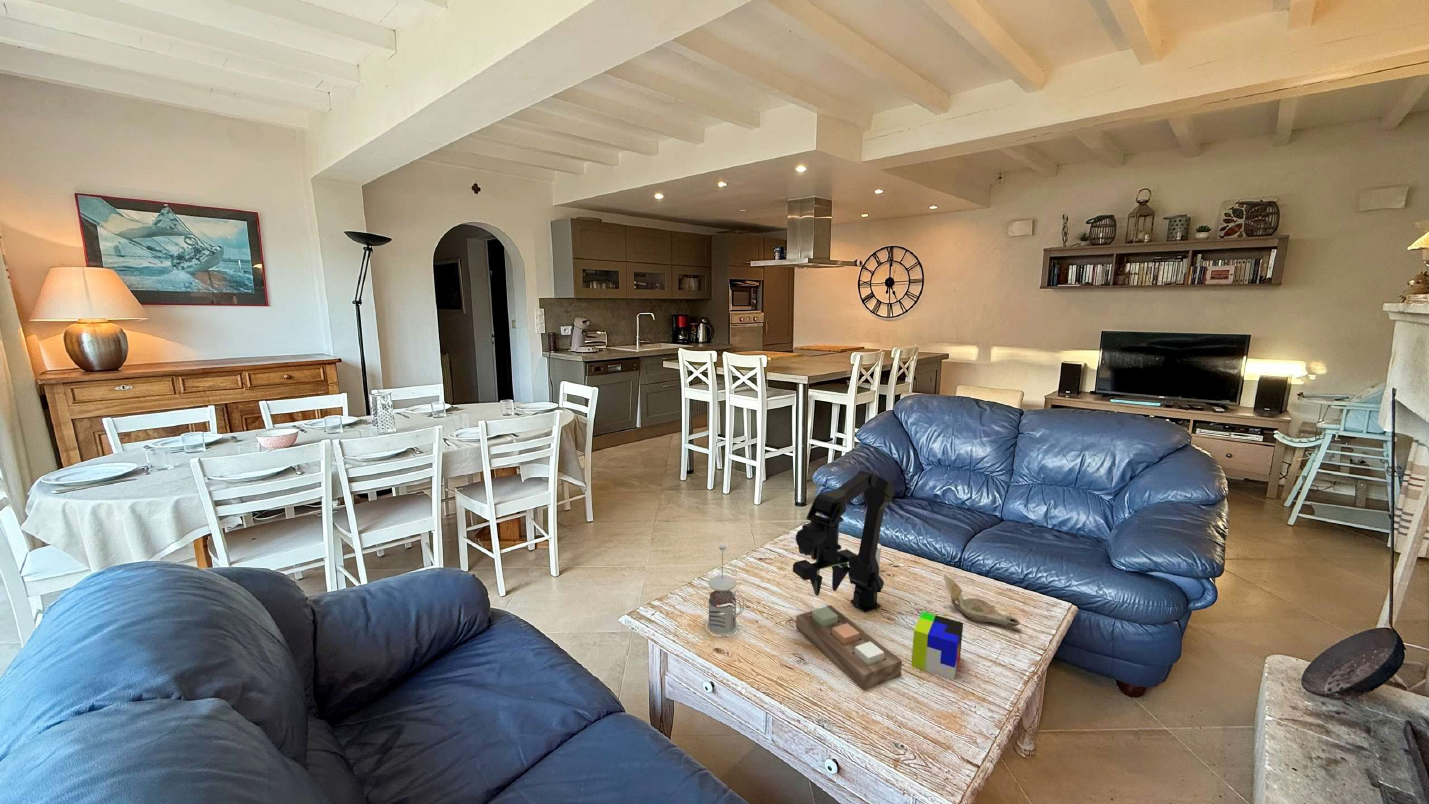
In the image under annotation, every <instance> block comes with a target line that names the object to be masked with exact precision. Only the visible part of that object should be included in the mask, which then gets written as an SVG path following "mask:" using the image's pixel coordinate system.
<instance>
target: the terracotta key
mask: <svg viewBox="0 0 1429 804" xmlns="http://www.w3.org/2000/svg"><path fill="white" fill-rule="evenodd" d="M832 636H833V637H834V638H835V639H836V640H838V641H839V642H840V643H841V644H842V645H843V646H845V645H848V644H851V643H854V642H857V641H859V639H860V633H859V632H858V631H857V630H855V629H854V628H853V627H852V626H850V625H849V624H848V623H846V624H843V625H840V626H837V627H834V628H832Z"/></svg>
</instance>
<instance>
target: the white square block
mask: <svg viewBox="0 0 1429 804" xmlns="http://www.w3.org/2000/svg"><path fill="white" fill-rule="evenodd" d="M854 655H855V656H856V657H857V658H859V659H860V660H861V661H862V662H863V663H865V664H866V665H867V666H871V665H873V664H876V663H879V662H881V661H884V652H883V651H882V650H881V649H879V648H878V647H877V646H876V645H874V644H873V643H872V642H871V641H870V642H867V643H864V644H861V645H858V646H855V654H854Z"/></svg>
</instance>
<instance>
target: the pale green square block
mask: <svg viewBox="0 0 1429 804" xmlns="http://www.w3.org/2000/svg"><path fill="white" fill-rule="evenodd" d="M811 611H812V619H813V620H814V621H815V622H817V623H818V624H819V625H820V626H821V627H822V628H823V627H826V626H829V625H832V624H836V623H838V615H836V614H835V613H834V612H833V611H831V610H830V609H829V608H828V607H827V606H824V608H823V607H821V609H820V608H817V609H814V611H813V610H811Z"/></svg>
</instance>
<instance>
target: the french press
mask: <svg viewBox="0 0 1429 804" xmlns="http://www.w3.org/2000/svg"><path fill="white" fill-rule="evenodd" d="M718 549H719V550H720V551H721V574H718V575H714V576H713V577H710V578H709V580H708V581H707V585H708V586H709V588H710V589H712V590H713V591H712V592H710V594H709V599H708V621H709V622H708V621H707V622H708V623H707V622H706V624H707V629H708V630H709V631H710V632H712V633H713V634H716V635H721V636H725V635H726V636H727V635H732V634H734V633H735V632H736V631H737V630H738V627H739V628H740V625H738V624H739V623H738V622H737V617H738V616H740V615H741V614H742V613H743V612H744V610H745V600H744V597H743V595H742V594H741V592H740V591H738V590H737V589H736V590H735V591H734V592H733V591H731V590H733V589H735V588H736V586H737V583H738V581H737V580H736V579H735V578H734V577H732V576H730V575H727V574H724V565H723V564H724V551H725V550H726V549H727V547H726V545H725V544H720V545H719V548H718ZM737 593H738V594H739V595H740V597H741V600H742V603H743V605H742V603H741V601H740V599H739V597H738V595H737ZM736 598H737V599H736ZM737 600H738V603H739V612H738V613H737ZM722 605H723V606H722ZM734 635H735V634H734Z"/></svg>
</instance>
